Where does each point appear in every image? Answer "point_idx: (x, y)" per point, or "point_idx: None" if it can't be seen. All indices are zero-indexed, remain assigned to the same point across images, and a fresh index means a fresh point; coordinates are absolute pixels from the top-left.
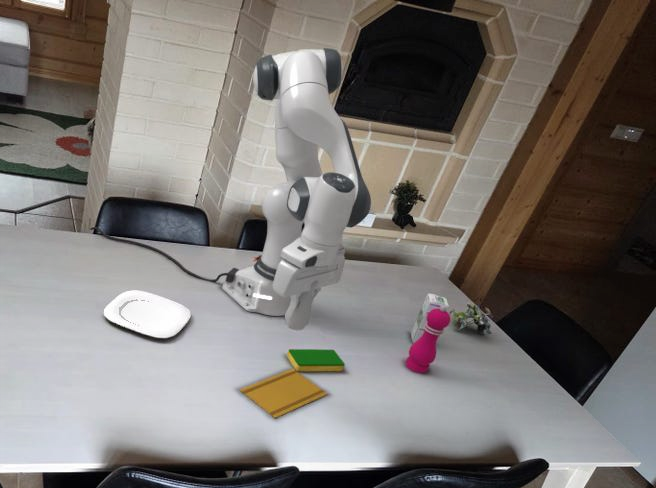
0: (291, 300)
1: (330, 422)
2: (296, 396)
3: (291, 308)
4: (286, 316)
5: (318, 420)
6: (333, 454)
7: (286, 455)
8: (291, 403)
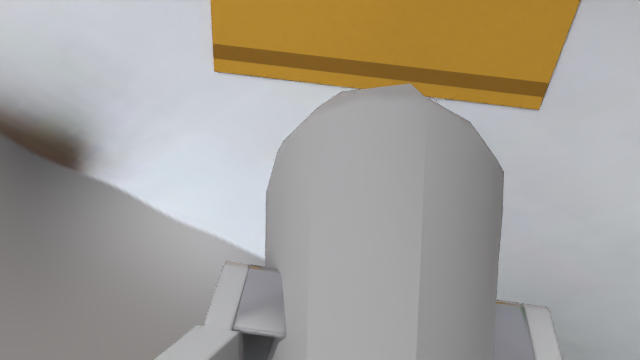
0: (205, 321)
1: None
2: (405, 46)
3: (273, 240)
4: (279, 152)
5: None
6: (259, 245)
7: (124, 178)
8: (343, 60)
